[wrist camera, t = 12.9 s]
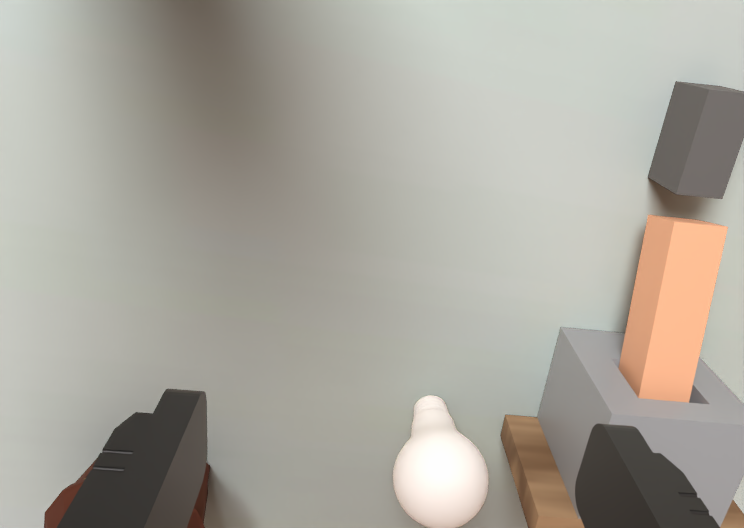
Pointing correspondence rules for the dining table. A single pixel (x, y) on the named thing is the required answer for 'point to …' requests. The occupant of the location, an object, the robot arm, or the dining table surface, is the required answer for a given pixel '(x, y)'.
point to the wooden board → (551, 478)
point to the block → (641, 417)
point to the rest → (699, 140)
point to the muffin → (68, 494)
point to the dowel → (670, 306)
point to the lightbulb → (439, 470)
